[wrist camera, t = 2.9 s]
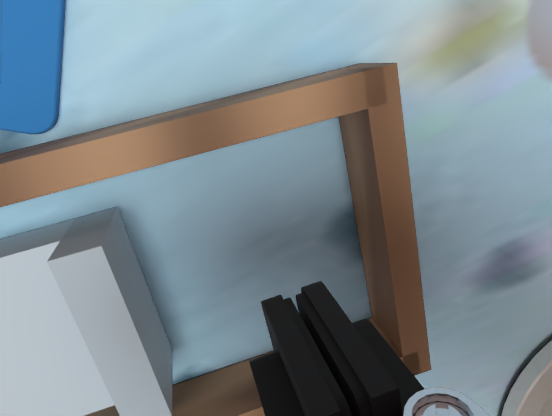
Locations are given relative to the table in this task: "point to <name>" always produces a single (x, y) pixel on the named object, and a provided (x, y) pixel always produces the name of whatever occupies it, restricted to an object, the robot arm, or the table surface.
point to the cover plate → (80, 323)
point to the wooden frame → (251, 125)
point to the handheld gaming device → (30, 64)
